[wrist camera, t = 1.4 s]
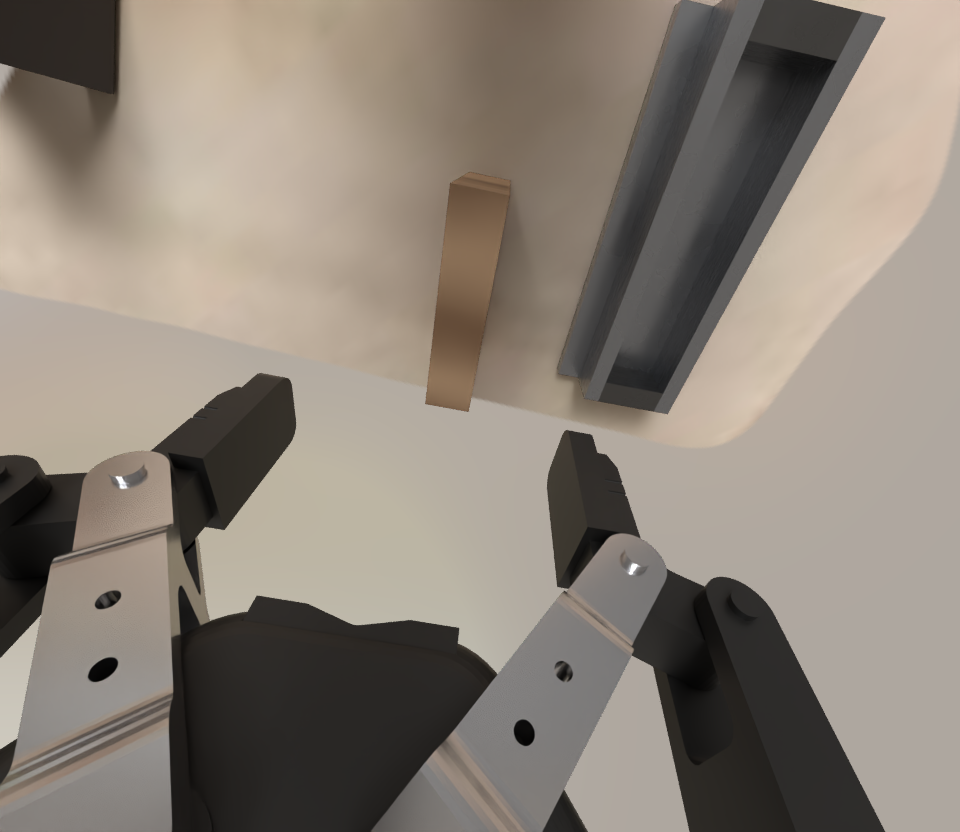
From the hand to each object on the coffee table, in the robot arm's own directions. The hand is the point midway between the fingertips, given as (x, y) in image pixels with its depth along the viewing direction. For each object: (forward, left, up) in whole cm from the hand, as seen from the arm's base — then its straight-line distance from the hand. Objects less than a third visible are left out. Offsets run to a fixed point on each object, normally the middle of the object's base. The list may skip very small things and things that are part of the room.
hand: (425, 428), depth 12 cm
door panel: (0, 0, -18) cm, 18 cm away
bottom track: (-4, +12, -18) cm, 22 cm away
